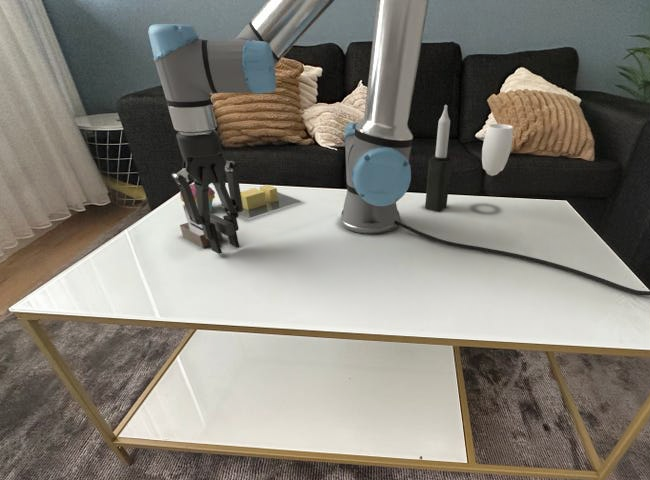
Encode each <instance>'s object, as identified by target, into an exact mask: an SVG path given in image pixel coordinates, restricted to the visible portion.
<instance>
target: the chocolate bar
mask: <svg viewBox="0 0 650 480" xmlns="http://www.w3.org/2000/svg"><path fill="white" fill-rule="evenodd" d="M179 228H180V232H181V234H182V237H183V238H184V239H185V240H187V241H189V242H191V243H193V244H195V245H197V246H198V247H200V248H202V249H206V248H208V247H211V244H210V240H209V239H207V238H206V237H205V236H204V233H203V231H202V230H200V229H199V228H197V227H195V226H193V225H191V224H189V223H188V222H185V223H182V224H179ZM217 235H218V239H219V241H222V240H223V234H222V233H220V232H218V231H217Z"/></svg>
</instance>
